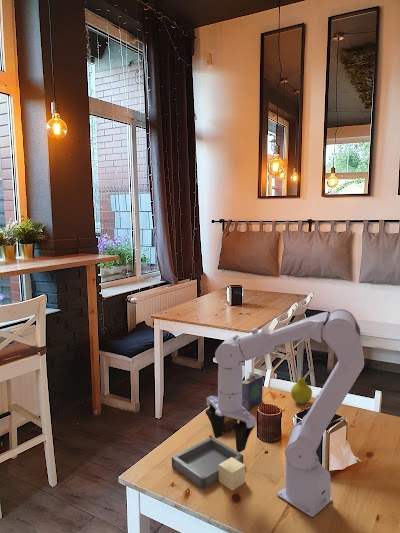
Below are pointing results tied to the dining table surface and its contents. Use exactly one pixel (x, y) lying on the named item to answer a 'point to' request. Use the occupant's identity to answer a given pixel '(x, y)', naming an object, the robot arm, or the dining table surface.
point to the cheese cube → (231, 473)
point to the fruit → (301, 391)
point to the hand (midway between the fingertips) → (229, 443)
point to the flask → (252, 391)
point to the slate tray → (204, 461)
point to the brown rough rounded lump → (229, 424)
